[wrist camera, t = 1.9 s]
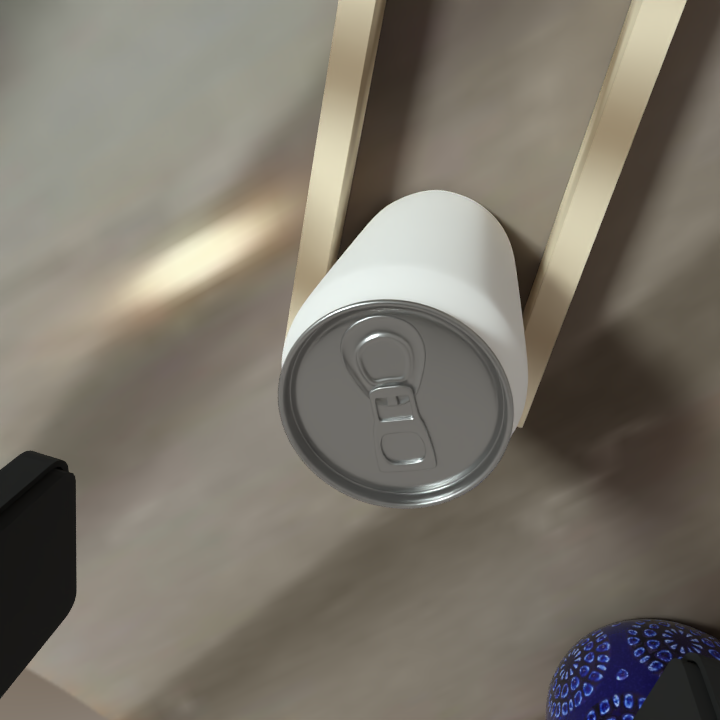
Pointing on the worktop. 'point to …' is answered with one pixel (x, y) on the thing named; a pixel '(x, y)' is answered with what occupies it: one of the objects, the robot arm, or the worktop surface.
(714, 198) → the worktop surface
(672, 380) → the worktop surface
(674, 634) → the planter
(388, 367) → the can
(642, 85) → the rail channel
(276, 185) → the worktop surface
